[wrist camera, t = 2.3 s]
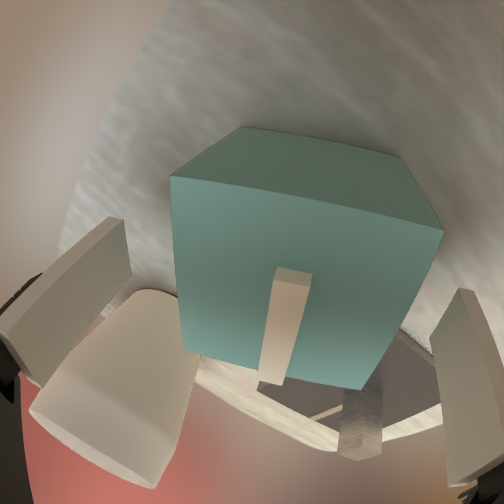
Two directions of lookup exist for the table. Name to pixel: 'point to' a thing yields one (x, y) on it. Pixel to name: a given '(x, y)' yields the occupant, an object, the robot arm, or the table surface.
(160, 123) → the table surface
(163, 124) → the table surface
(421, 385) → the shaft fixture
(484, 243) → the table surface
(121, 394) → the cup
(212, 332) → the teal block
